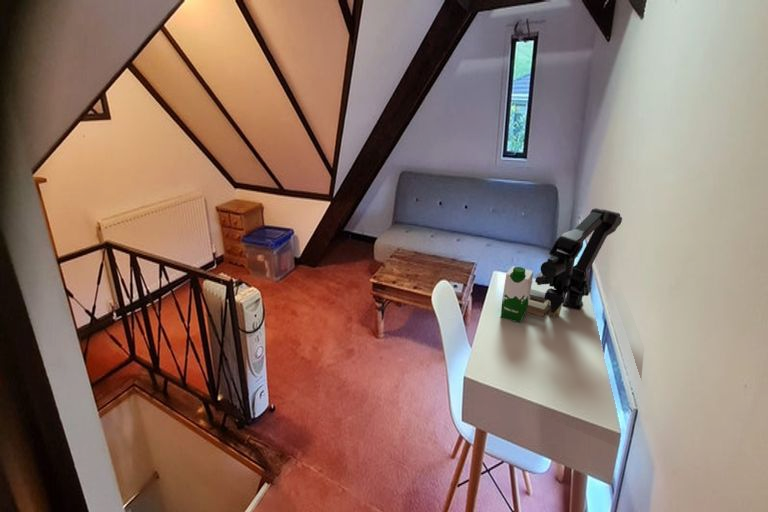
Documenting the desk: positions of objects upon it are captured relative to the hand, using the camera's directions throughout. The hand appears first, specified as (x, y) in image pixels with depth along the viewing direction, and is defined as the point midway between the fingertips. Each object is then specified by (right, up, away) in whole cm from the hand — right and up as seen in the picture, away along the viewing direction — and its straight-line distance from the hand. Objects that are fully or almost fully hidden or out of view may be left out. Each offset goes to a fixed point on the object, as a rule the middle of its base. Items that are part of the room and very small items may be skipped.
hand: (555, 307), depth 145 cm
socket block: (-5, -1, +6) cm, 8 cm away
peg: (0, -3, +1) cm, 3 cm away
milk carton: (-15, -3, +1) cm, 16 cm away
